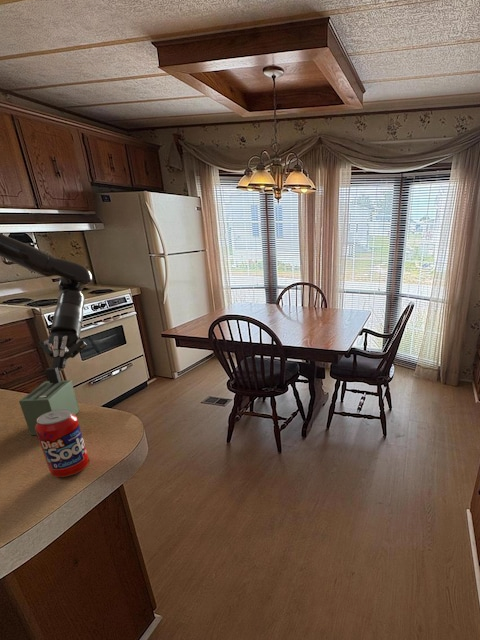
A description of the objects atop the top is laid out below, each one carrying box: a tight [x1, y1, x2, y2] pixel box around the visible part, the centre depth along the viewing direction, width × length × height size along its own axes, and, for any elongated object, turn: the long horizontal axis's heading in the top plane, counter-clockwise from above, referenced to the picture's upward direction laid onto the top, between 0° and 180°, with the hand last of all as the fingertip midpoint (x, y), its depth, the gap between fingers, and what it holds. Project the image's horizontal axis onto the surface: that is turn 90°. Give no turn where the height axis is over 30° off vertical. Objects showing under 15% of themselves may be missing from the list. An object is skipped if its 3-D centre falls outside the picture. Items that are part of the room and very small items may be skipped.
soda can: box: [35, 409, 90, 478], centre depth 81 cm, size 8×8×15 cm
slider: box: [45, 366, 62, 383], centre depth 102 cm, size 2×2×4 cm
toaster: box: [18, 379, 81, 436], centre depth 100 cm, size 13×7×11 cm, turn 11°
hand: (58, 369), depth 104 cm, fingers closed
